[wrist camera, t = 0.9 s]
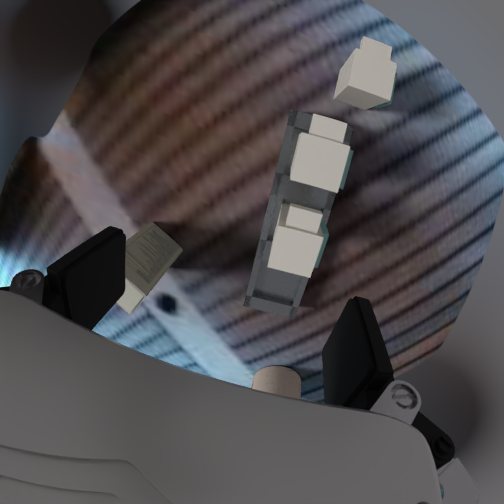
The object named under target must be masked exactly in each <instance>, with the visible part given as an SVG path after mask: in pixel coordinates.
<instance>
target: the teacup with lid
mask: <svg viewBox="0 0 504 504" xmlns="http://www.w3.org/2000/svg"><path fill="white" fill-rule="evenodd" d="M252 389H256V390H260V391H264V392H269V393H273V394H278V395H282V396H287V397H292V398H297V399H301V379H300V376H299V375H298V374H297V373H296V372H295V371H294V370H292V369H290V368H287V367H283V366H269V367H265V368H263V369H261V370H259V371H258V372H257V373H256V374H255V375H254V378H253V383H252Z"/></svg>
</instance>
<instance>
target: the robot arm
mask: <svg viewBox="0 0 504 504" xmlns="http://www.w3.org/2000/svg"><path fill="white" fill-rule="evenodd" d="M125 256H126V235H125V234H123V230H122V229H118V228H115V227H112V226H109V227H107V228H106V229H104V230H102V231H101V232H99V233H98V234H96V235H94V236H93V237H91V238H90V239H88V240H87V241H85V242H84V243H82V244H81V245H79V246H77V247H76V248H74V249H73V250H71V251H70V252H69V253H67V254H66V255H64V256H63V257H61V258H60V259H58V260H57V261H56V262H54V263H53V264H51V265H50V266H48V267H47V275H46V276H45V277H44V275H43V273H42V272H41V271H39V270H35V269H28V270H24V271H21V272H19V273H18V274H16V275H15V276H14V277H13V279H12V281H11V285H10V286H8V287H0V504H477V503H478V502H479V498H480V492H479V488H478V486H477V485H476V483H475V482H474V480H473V479H472V478H471V476H470V475H469V473H468V472H467V470H466V469H465V467H464V466H463V465H462V463H461V462H460V461H459V459H458V458H457V459H455V460H454V459H453V457H454V453H455V448H454V444H453V442H452V440H451V438H450V437H449V436H448V435H447V434H446V433H444V432H443V431H442V430H441V429H439V428H438V427H437V426H436V425H434V423H432V422H431V421H430V420H429V419H428V418H426V417H425V416H424V415H423V414H421V413H420V412H419V411H418V410H419V408H420V405H421V398H420V395H419V393H418V392H417V390H416V389H415V388H414V387H413V386H412V385H411V384H409V383H407V382H404V381H401V380H400V381H399V380H398V381H397V380H396V381H394V377H393V374H394V372H393V369H392V365H391V362H390V359H389V356H388V353H387V349H386V346H385V343H384V340H383V337H382V334H381V331H380V329H379V326H378V323H377V320H376V317H375V314H374V312H373V309H372V306H371V304H370V301H369V300H368V299H365V298H361V297H357V296H355V297H354V298H353V299H351V298H350V299H349V300H348V302H347V304H346V306H345V308H344V310H343V312H342V314H341V316H340V318H339V319H338V321H337V323H336V325H335V327H334V329H333V331H332V333H331V335H330V336H329V338H328V340H327V342H326V344H325V345H324V348H323V351H322V361H323V377H324V397H325V403H319V402H313V401H308V400H303V399H297V398H292V397H287V396H282V395H278V394H273V393H269V392H264V391H260V390H256V389H252V388H248V387H244V386H240V385H237V384H233V383H230V382H226V381H223V380H219V379H216V378H212V377H209V376H206V375H203V374H199V373H196V372H193V371H190V370H187V369H184V368H181V367H179V366H176V365H173V364H170V363H167V362H165V361H162V360H159V359H157V358H154V357H151V356H149V355H146V354H144V353H141V352H139V351H136V350H134V349H131V348H129V347H127V346H124V345H122V344H120V343H117V342H115V341H113V340H111V339H108V338H106V337H104V336H102V335H100V334H98V333H96V332H94V331H91V330H92V329H93V328H94V327H95V326H96V324H97V323H98V322H99V321H100V320H101V319H102V318H103V317H104V315H105V314H106V313H107V312H108V311H109V310H110V309H111V308H112V306H113V305H114V304H115V303H116V302H117V301H118V300H119V299H120V298H121V297H122V296H123V294H124V292H125V287H126V285H125Z"/></svg>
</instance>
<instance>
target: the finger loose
mask: <svg viewBox="0 0 504 504" xmlns="http://www.w3.org/2000/svg"><path fill="white" fill-rule="evenodd" d="M391 51H392V47H390V46H388V45H386V44H383V43H380V42H378V41H375V40H373V39H370V38H367V37H363V38H362V40H361V44H360V49H357V48H356V49H355V50H354V51H353V53H352V54H351V56H350V57H349V58H348V60H347V61H346V63H345V64H344V65H343V67H342V68H341V70H340V73H339V77H338V82H337V86H336V91H335V95H334V100H337V101H341V102H344V103H347V104H350V105H353V106H356V107H359V108H362V109H364V110H366V109H369V108H371V107H375V108H381V107H384V106H387V105H391V103H392V98H393V93H394V87H395V82H396V76H397V73H396V67H397V64H396V63H394V62H392V61H390V57H391Z"/></svg>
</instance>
